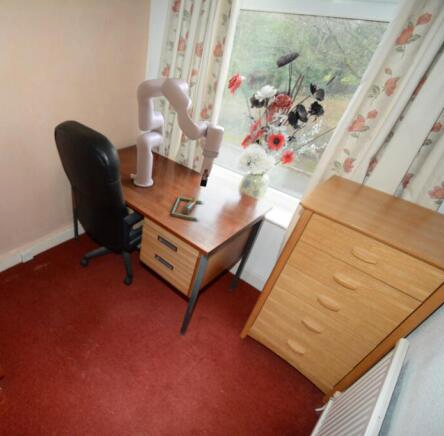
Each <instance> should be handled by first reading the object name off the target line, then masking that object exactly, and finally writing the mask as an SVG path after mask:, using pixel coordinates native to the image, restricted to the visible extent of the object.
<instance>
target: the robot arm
mask: <svg viewBox="0 0 444 436" xmlns="http://www.w3.org/2000/svg"><path fill="white" fill-rule="evenodd" d="M188 89H189V85H188V82H187V81H186V79H184V78H182V77H161V78H153V79H146V80H144V81H142V82H141V83H140V84H139V85H138V86H137V89H136V99H137V116H138V117H137V118H138V119H137V121H138V128H139V130H140V131H142V132H144V133H141V134H139V135H138V136H137V138H136V140H135V144H136V174H134V173H130V175H129V176H130V179H133V184H134V185H136V186H137V187H140V188H149V187H151V186H153V185H154V180H153V179H152V175H153V161H154V155H153V153H152V150H153V149H155V148H157V147H160V146H161V145H162V144H163V143H164V136H165V120H164V116H163V114H162V113H161V112H160V111H158V110H157V111H156V110H154V109H155V105H154V103H153V102H154V101H153V100H152V98H159V97H164V98H165V99H166V100H167V102H168V103H169V104H170V106H171V107H172V108H173V110H174V111H175V113H176V118H177V120H176V121H177V124H178V127H179V129H180V130H181V132H182V133H183V134H184V136H185V137H186V138H187V139H188V140H190V141H197V140H201V139H204V138H205V140H204V144H203V148H202V153H201V154H202V157H203V158H202V163H201V167H200V171H199V177H201V178H200V182H199V186H200V187H203V188H206V187H207V184H208V180H209V179H208V178H209V177H210V176H211V173H212V170H213V167H214V163H215V159H217V158H219V154H220V150H221V146H222V141H223V138H224V134H225V129H224V127H223V126H220V125H218V124H217V125H216V124H214V123H212V122H210V121H208V120H201V121H198V122H195V121H194V120H193V119H192V118H191V117H190V114H189V109H190V108H191V106H192V100H191V99H190V96H188V95H187V92H188Z"/></svg>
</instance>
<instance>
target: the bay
mask: <svg viewBox="0 0 444 436" xmlns="http://www.w3.org/2000/svg"><path fill="white" fill-rule="evenodd" d="M192 199H193V198H189V197H185V196H178V197H177V199H176V202H175V204H174V206H173V208H172V211H171V215H170V216H173V217H176V218H181V219H186V220H189V221H195V222H197V220H198V217H195V216H191V215H188V214H184V213H178V212H176V209H177V207H178V204H179V202H180V200H181V201H184V202H188V203H189V202H190V201H191V200H192ZM202 202H203V201H202V200H200V199H197V202H196V204H199V205H202Z"/></svg>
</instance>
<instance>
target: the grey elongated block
mask: <svg viewBox="0 0 444 436" xmlns="http://www.w3.org/2000/svg"><path fill="white" fill-rule="evenodd" d="M191 199H192V200H191V201H190V202H189V201H188V203H187V204H186V205H185V206H184V208H183V210H182V214H183V215H188V214H189V213H190V212H191V211H192V209H193V208H194V207H195V206H196V204H197V203H196V202H197V200H198V198H195V197H193V198H191Z"/></svg>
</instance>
